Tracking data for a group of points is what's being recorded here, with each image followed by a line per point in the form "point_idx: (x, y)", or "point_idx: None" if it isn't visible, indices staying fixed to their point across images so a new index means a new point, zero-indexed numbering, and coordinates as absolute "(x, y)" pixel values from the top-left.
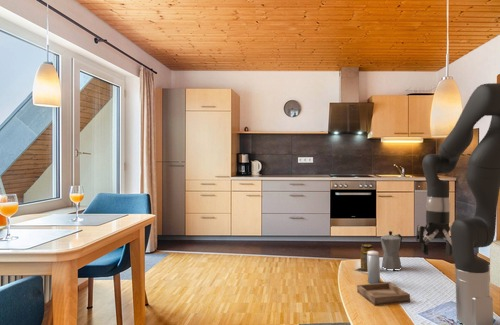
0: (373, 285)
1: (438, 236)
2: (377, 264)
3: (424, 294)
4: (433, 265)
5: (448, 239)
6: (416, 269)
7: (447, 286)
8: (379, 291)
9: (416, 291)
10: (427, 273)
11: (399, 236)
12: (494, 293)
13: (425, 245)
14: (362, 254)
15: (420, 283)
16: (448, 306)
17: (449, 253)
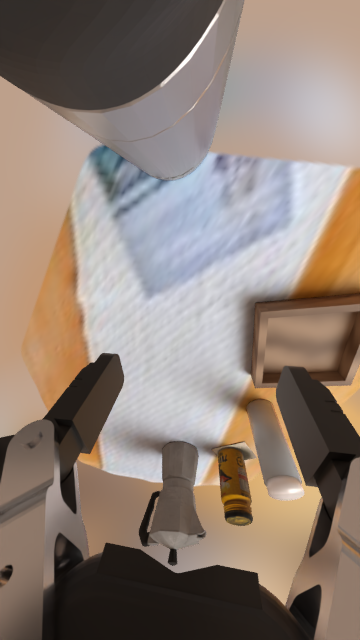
0: None
1: (185, 626)
2: (271, 446)
3: (190, 339)
4: (98, 448)
5: (35, 506)
6: (137, 440)
7: None
8: (294, 361)
9: (198, 356)
10: (126, 424)
11: (146, 538)
12: (31, 323)
13: (347, 454)
14: (249, 493)
15: (165, 389)
16: (173, 263)
17: (110, 361)
